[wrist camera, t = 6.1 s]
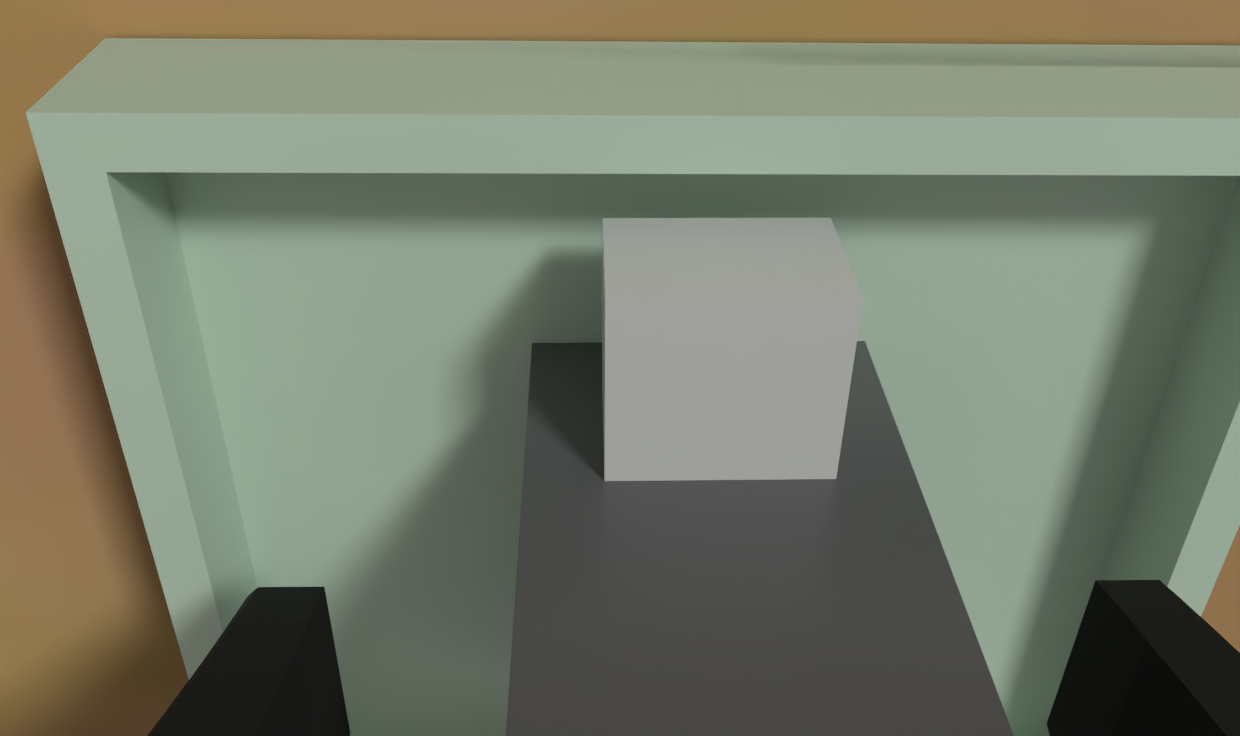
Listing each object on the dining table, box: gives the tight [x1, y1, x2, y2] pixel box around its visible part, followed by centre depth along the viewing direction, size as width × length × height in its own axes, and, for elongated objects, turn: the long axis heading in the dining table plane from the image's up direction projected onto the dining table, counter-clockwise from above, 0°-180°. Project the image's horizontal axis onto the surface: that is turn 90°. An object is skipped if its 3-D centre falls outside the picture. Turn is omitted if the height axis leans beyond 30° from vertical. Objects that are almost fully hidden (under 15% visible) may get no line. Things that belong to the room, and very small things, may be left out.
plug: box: [506, 218, 1014, 736], centre depth 10 cm, size 7×3×6 cm, turn 179°
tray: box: [26, 38, 1240, 736], centre depth 13 cm, size 10×11×2 cm
